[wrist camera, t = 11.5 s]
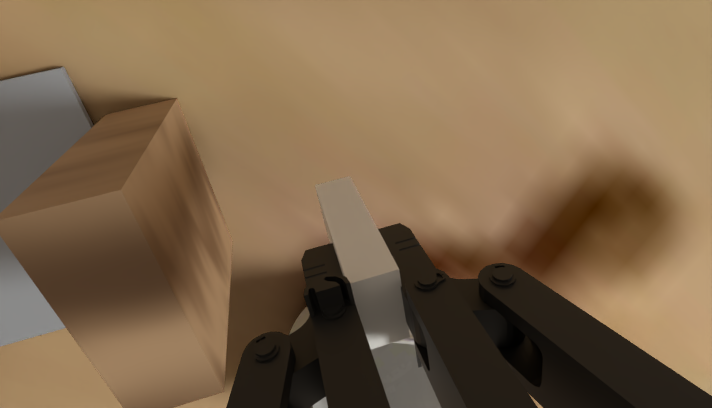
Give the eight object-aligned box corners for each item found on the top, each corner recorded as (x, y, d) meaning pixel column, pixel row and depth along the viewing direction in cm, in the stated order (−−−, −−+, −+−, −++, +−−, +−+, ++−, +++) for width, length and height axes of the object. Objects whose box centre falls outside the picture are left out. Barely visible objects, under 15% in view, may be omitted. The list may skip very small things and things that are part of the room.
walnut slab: (232, 241, 26) (224, 391, 16) (175, 257, 26) (132, 420, 16) (177, 98, 22) (120, 189, 12) (106, 114, 21) (-10, 222, 12)
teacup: (327, 393, 34) (347, 497, 27) (243, 314, 29) (242, 420, 22) (476, 303, 33) (537, 387, 26) (419, 204, 28) (476, 278, 21)
